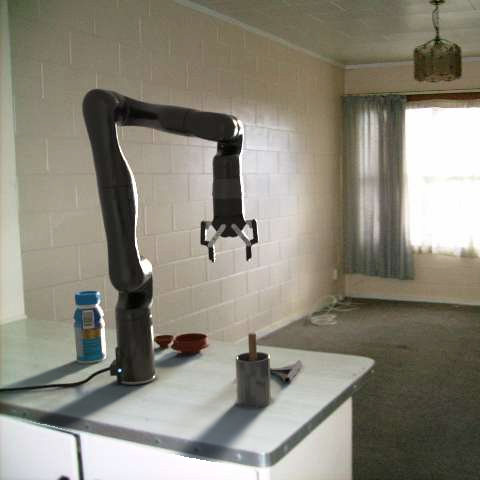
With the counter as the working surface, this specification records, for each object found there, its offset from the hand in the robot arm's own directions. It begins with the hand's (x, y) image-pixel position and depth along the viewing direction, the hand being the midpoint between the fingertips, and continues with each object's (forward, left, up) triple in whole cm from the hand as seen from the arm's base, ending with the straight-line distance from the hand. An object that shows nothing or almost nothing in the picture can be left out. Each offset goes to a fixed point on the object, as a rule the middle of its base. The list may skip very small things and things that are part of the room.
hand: (230, 261), depth 158 cm
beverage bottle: (-43, +28, -32) cm, 61 cm away
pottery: (-18, +34, -32) cm, 50 cm away
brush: (+5, -12, -32) cm, 34 cm away
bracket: (+9, +8, -32) cm, 34 cm away
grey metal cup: (+5, -12, -32) cm, 35 cm away
